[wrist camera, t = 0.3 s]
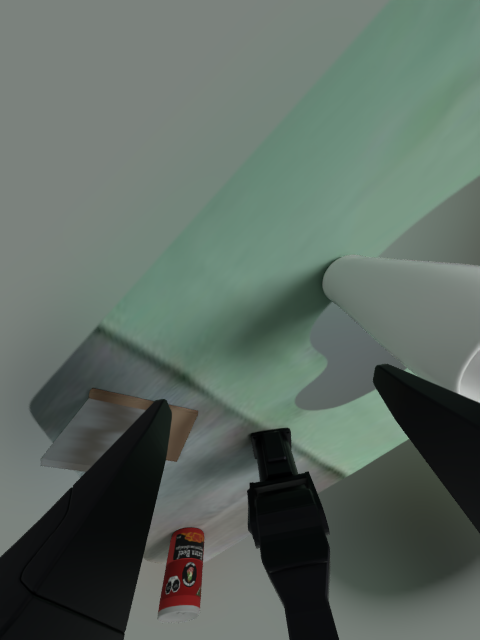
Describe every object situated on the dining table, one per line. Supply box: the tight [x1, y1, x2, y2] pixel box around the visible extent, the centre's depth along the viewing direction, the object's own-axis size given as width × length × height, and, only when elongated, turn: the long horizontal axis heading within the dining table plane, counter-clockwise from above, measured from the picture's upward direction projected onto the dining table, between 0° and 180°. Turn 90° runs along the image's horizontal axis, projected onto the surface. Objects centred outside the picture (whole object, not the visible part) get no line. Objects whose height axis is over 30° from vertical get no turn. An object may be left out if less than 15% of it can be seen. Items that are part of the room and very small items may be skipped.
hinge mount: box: [41, 388, 198, 472], centre depth 26 cm, size 14×12×9 cm
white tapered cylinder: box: [322, 255, 480, 403], centre depth 15 cm, size 7×7×15 cm
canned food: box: [157, 528, 204, 623], centre depth 42 cm, size 8×8×11 cm
